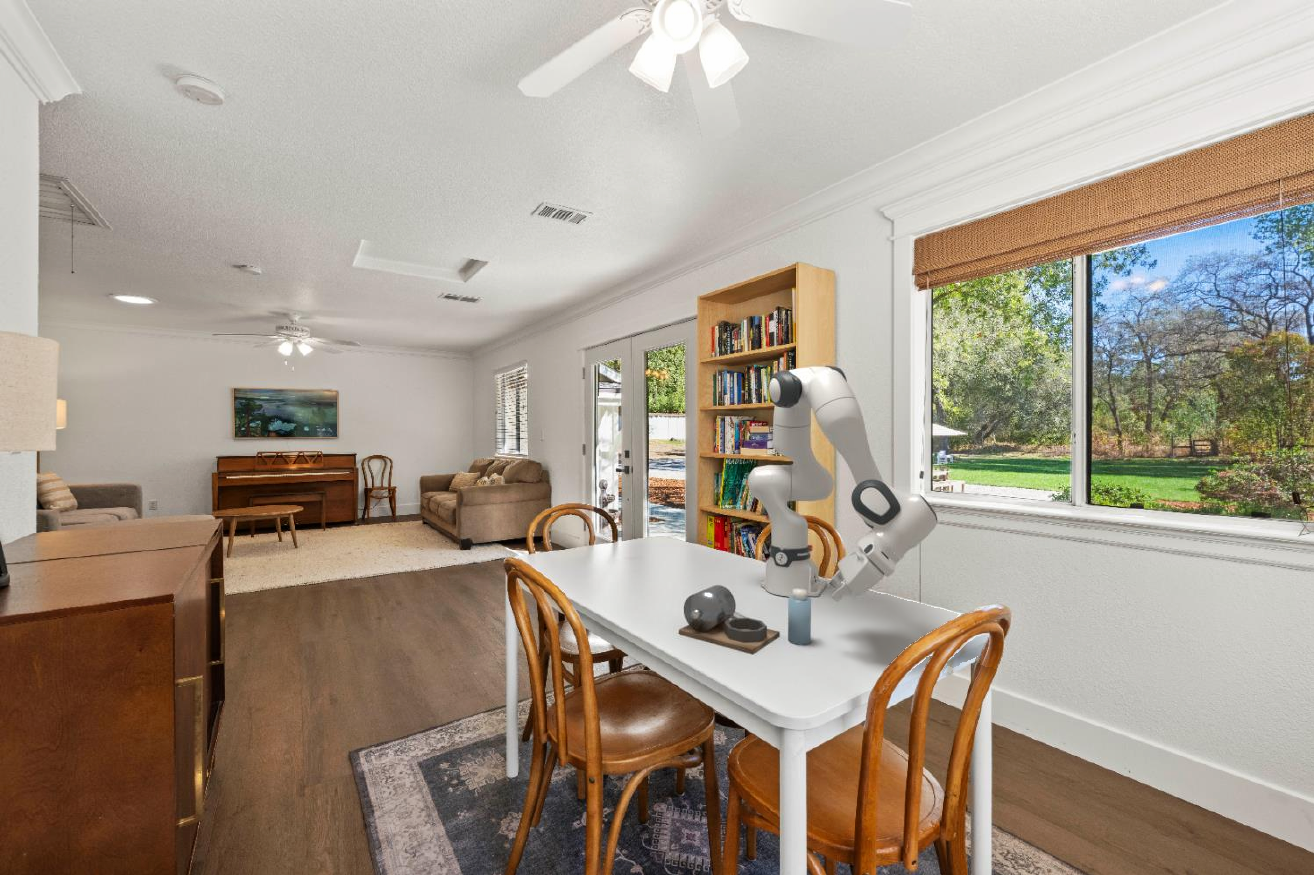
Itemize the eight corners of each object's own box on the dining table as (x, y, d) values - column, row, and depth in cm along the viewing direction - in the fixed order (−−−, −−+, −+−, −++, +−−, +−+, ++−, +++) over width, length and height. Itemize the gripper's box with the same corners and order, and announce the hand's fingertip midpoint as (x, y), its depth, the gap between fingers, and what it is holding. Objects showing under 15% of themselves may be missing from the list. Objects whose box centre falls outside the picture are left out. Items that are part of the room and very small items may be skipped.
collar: (737, 625, 138) (738, 615, 138) (771, 633, 133) (771, 623, 133) (718, 636, 131) (719, 625, 131) (753, 645, 125) (754, 634, 125)
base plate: (709, 618, 146) (709, 614, 146) (779, 635, 134) (779, 631, 134) (678, 633, 135) (678, 629, 135) (752, 654, 123) (752, 649, 123)
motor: (705, 616, 145) (705, 582, 145) (735, 624, 139) (735, 588, 139) (678, 629, 135) (679, 592, 135) (710, 638, 130) (710, 599, 130)
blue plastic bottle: (793, 635, 135) (793, 586, 135) (814, 640, 132) (814, 589, 131) (784, 641, 131) (784, 590, 130) (805, 646, 127) (805, 594, 127)
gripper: (859, 534, 138) (818, 571, 140) (873, 552, 118) (825, 594, 120) (878, 553, 137) (836, 590, 139) (895, 574, 117) (846, 616, 119)
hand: (831, 592), depth 129 cm, fingers open, 8 cm apart
